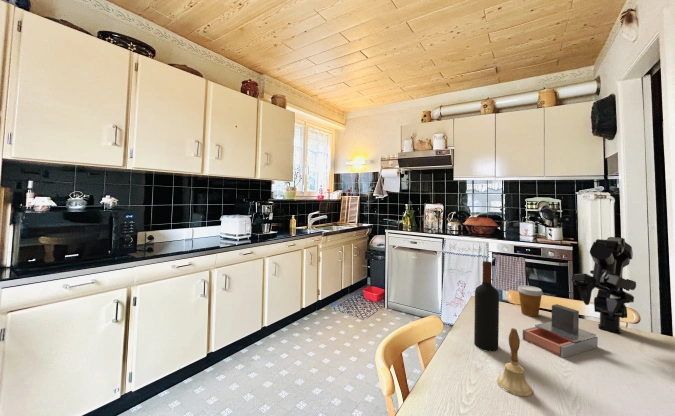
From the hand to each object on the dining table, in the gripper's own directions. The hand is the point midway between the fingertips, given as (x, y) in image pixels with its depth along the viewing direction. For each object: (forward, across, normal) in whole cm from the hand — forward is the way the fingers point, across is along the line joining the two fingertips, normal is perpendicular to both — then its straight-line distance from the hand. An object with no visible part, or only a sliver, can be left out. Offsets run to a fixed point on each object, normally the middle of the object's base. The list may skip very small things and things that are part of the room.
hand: (598, 310), depth 97 cm
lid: (+11, -6, +5) cm, 14 cm away
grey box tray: (+16, -7, +6) cm, 18 cm away
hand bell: (+36, -35, -14) cm, 52 cm away
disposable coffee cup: (+5, -1, +30) cm, 30 cm away
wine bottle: (+28, -32, +6) cm, 43 cm away
